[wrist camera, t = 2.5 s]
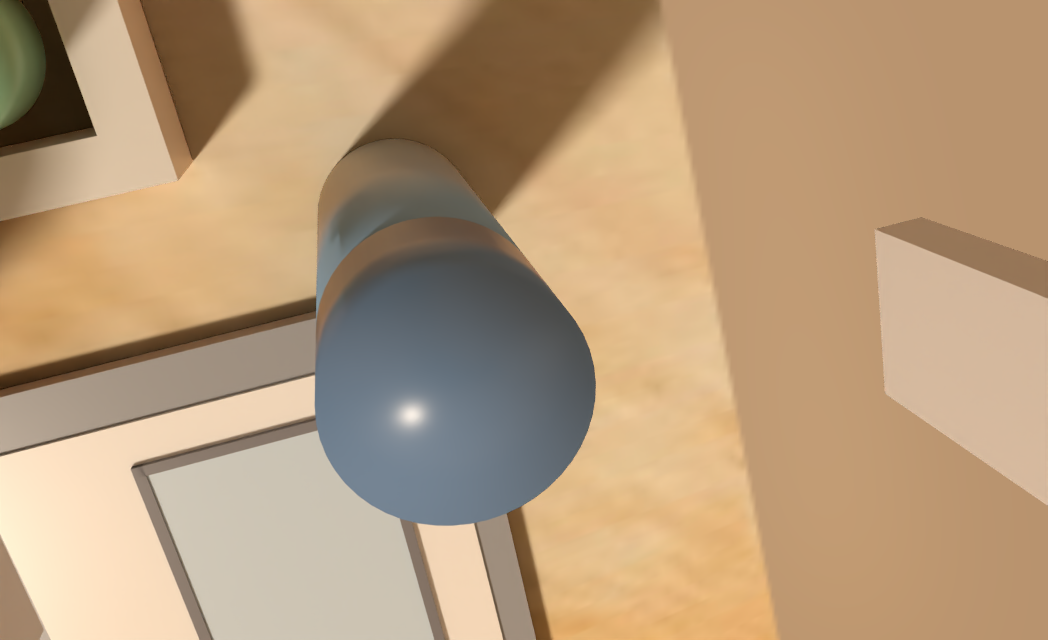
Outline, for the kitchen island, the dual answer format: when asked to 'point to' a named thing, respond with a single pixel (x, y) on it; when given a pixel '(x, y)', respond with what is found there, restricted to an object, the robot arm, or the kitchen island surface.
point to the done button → (19, 62)
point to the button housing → (101, 117)
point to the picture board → (225, 510)
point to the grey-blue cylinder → (438, 345)
